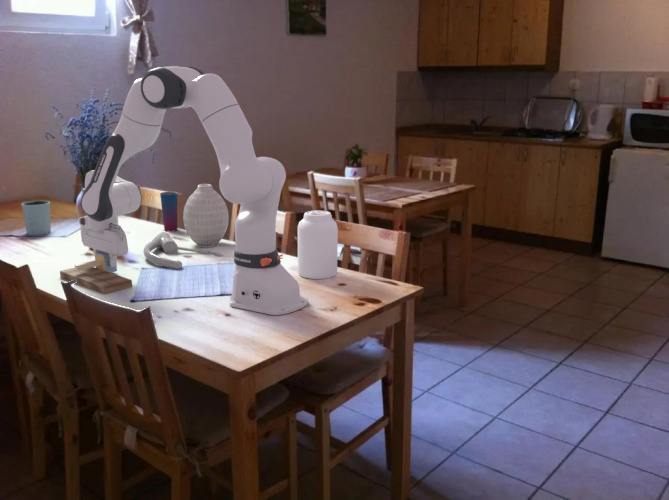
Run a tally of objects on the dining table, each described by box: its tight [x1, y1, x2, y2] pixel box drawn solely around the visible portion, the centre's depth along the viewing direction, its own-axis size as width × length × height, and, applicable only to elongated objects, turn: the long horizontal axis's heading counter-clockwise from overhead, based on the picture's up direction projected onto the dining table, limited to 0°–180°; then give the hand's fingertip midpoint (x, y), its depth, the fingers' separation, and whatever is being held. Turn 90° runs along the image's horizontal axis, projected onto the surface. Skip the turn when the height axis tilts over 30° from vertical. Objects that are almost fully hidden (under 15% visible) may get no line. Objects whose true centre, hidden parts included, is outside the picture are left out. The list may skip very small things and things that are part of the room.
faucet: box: [142, 231, 224, 270], centre depth 220 cm, size 5×28×28 cm
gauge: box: [74, 251, 118, 273], centre depth 198 cm, size 5×12×6 cm, turn 141°
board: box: [59, 267, 133, 295], centre depth 193 cm, size 24×9×2 cm, turn 51°
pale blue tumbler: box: [20, 200, 52, 236], centre depth 250 cm, size 10×10×12 cm
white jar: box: [297, 209, 339, 280], centre depth 201 cm, size 12×12×20 cm
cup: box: [159, 191, 179, 232], centre depth 257 cm, size 7×7×15 cm
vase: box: [182, 183, 229, 248], centre depth 234 cm, size 16×16×22 cm
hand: (106, 264), depth 201 cm, fingers closed on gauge, 5 cm apart
